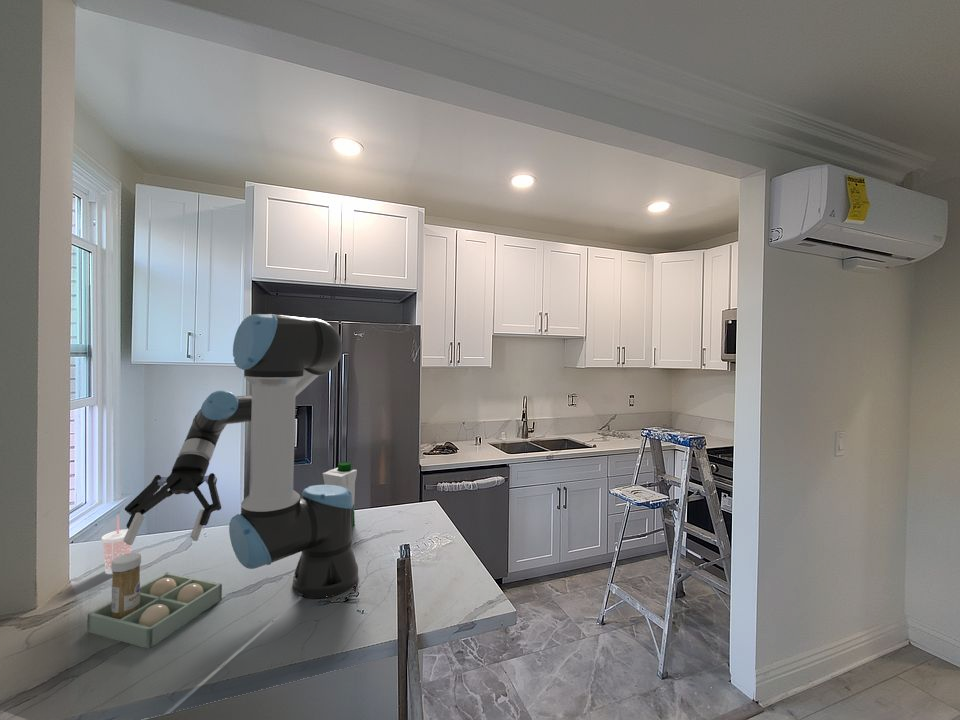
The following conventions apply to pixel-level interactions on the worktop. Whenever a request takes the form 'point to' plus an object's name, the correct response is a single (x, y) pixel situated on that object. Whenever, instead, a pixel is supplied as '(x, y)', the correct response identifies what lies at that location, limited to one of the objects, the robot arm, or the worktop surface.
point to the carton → (179, 611)
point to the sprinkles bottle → (125, 584)
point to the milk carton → (342, 479)
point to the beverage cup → (114, 546)
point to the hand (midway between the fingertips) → (161, 540)
